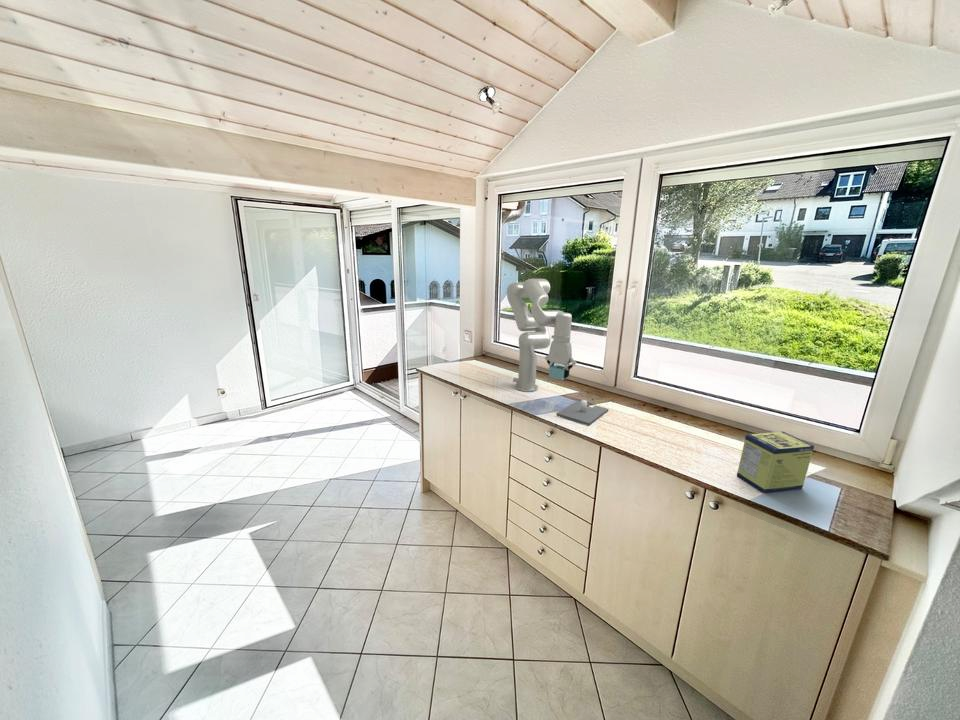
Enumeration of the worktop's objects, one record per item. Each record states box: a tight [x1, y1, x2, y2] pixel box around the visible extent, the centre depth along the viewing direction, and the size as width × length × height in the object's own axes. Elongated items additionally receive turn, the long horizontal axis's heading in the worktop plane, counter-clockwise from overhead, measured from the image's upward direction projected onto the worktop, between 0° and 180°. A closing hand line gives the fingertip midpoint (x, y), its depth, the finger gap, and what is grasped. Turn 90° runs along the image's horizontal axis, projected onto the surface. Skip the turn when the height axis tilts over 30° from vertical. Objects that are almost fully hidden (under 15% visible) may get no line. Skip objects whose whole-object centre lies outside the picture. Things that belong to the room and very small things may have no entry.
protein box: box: [736, 431, 815, 494], centre depth 122 cm, size 10×16×16 cm
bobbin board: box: [555, 399, 609, 426], centre depth 175 cm, size 16×22×6 cm
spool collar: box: [548, 364, 570, 381], centre depth 179 cm, size 7×7×5 cm
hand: (559, 375), depth 179 cm, fingers closed on spool collar, 7 cm apart
